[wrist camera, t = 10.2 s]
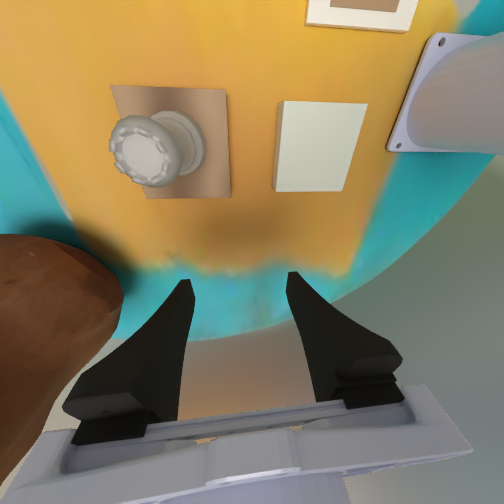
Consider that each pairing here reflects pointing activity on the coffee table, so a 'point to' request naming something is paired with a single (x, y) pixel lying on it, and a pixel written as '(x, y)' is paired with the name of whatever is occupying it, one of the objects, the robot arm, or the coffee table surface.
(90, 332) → the butternut squash
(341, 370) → the robot arm
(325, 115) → the grey-green block
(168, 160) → the rook chess piece
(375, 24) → the card
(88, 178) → the coffee table surface
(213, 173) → the walnut block
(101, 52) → the coffee table surface
